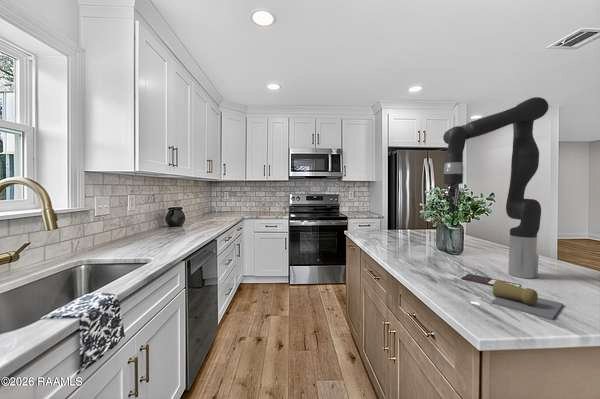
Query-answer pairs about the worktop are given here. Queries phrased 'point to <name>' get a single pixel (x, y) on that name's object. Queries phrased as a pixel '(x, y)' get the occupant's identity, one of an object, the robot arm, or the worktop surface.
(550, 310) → the mat
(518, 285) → the chocolate bar
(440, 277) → the worktop surface
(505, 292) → the cork
